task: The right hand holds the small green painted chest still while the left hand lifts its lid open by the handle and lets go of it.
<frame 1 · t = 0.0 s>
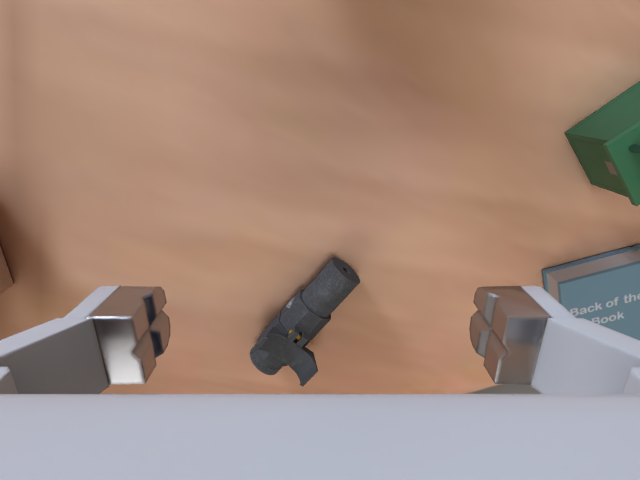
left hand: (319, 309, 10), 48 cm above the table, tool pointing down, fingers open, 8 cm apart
chest: (621, 130, 55), on the table
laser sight: (302, 308, 66), on the table
book: (596, 313, 66), on the table
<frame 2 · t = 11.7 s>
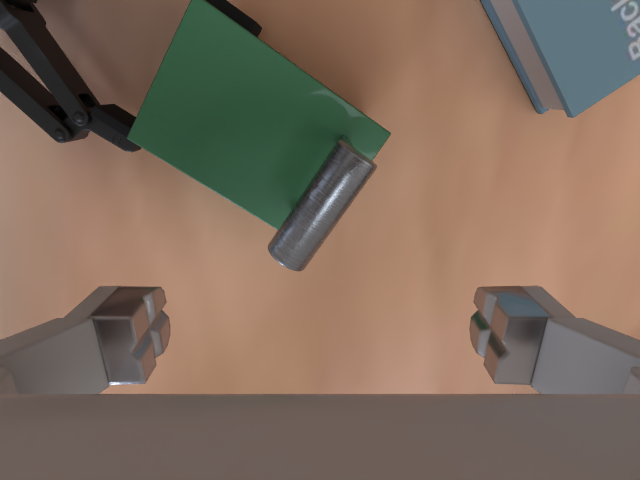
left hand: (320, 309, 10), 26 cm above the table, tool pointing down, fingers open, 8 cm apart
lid: (248, 144, 21), point 14 cm above the table, hinge at 0.0°
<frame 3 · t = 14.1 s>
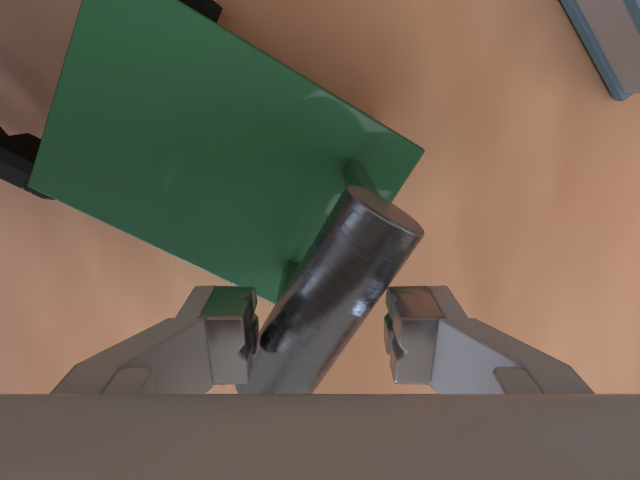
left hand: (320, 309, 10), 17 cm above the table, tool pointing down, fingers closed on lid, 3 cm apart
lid: (197, 190, 13), point 14 cm above the table, hinge at -0.1°, touching left hand
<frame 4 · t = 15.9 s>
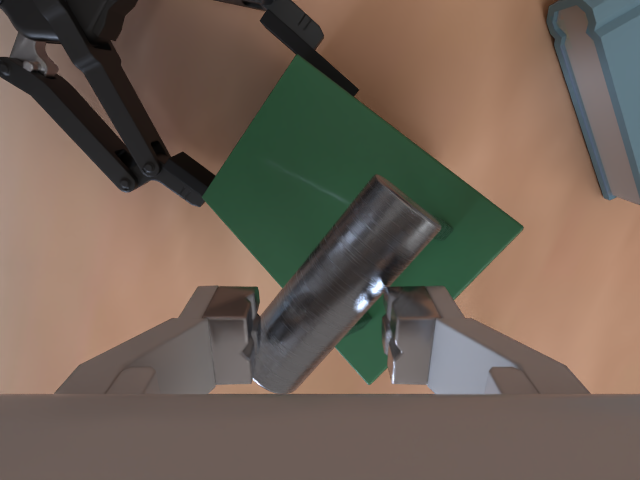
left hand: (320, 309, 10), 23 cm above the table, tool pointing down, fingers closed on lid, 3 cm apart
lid: (291, 199, 15), point 17 cm above the table, hinge at 33.8°, touching left hand
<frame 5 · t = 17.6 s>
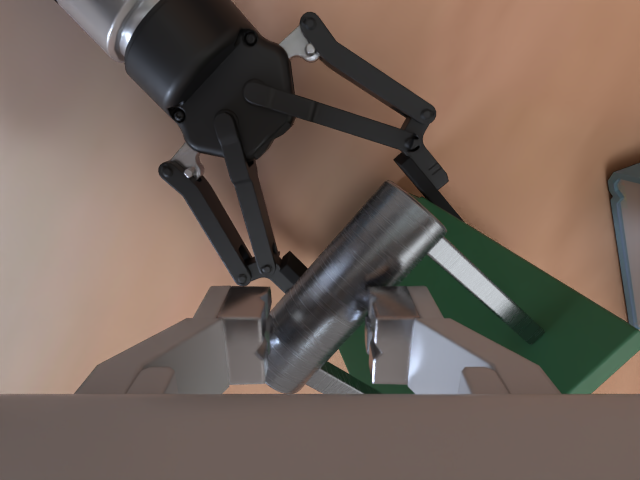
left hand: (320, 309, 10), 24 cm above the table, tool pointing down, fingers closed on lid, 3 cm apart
right hand: (399, 274, 29), fingers closed on chest, 10 cm apart
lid: (367, 274, 17), point 17 cm above the table, hinge at 74.5°, touching left hand
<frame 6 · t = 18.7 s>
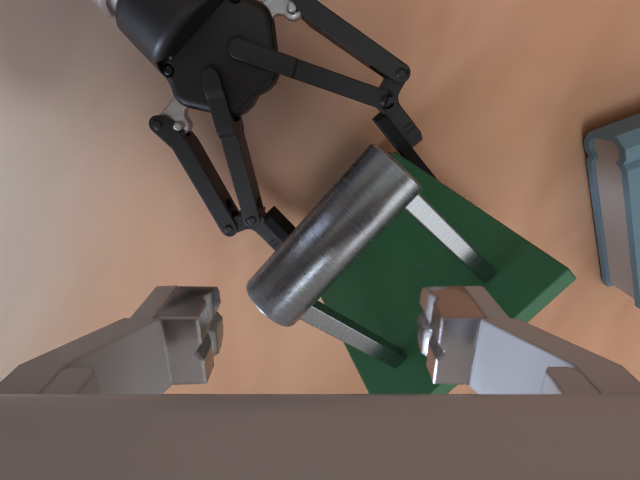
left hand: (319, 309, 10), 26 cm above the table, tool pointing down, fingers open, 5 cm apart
right hand: (376, 229, 31), fingers closed on chest, 10 cm apart
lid: (347, 225, 19), point 18 cm above the table, hinge at 67.8°
when the right hand's fingers open (6 cm above the table, at t = 21.6 s): chest stays where it is, on the table.
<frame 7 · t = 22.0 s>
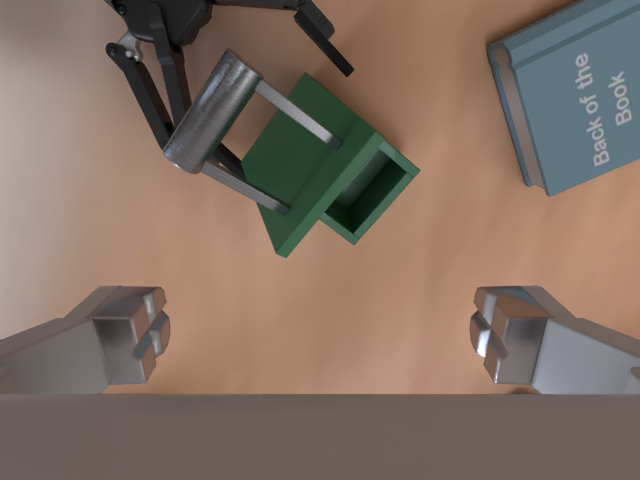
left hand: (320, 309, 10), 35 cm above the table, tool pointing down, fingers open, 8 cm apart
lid: (250, 121, 26), point 17 cm above the table, hinge at 66.3°
chest: (330, 152, 44), on the table
book: (611, 71, 41), on the table
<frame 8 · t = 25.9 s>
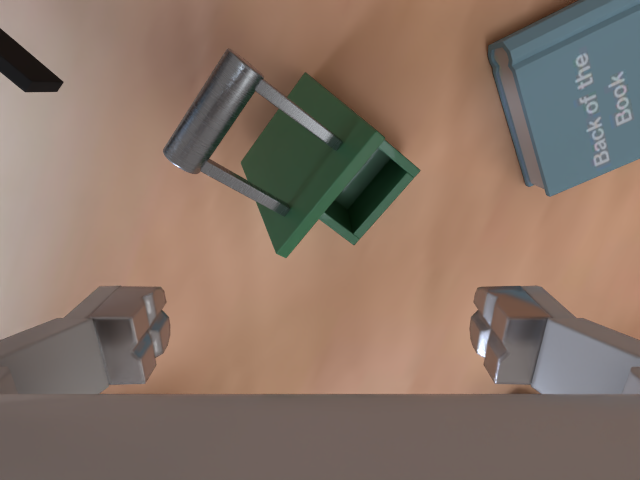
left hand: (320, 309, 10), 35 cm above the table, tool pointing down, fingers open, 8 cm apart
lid: (250, 121, 26), point 17 cm above the table, hinge at 66.3°
chest: (330, 152, 44), on the table
book: (611, 71, 41), on the table
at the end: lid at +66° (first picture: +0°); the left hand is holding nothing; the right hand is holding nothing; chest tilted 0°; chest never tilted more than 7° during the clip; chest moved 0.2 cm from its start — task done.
